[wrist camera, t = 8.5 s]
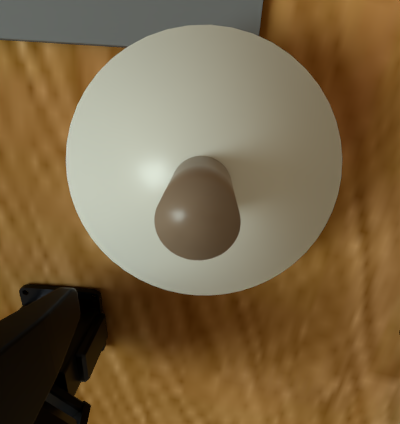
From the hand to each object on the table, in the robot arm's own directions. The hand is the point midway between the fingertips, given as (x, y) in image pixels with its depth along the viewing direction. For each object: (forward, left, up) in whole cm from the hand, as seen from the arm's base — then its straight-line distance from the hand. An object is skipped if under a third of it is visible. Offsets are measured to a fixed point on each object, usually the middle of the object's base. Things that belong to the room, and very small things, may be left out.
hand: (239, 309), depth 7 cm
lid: (-1, +1, -8) cm, 8 cm away
